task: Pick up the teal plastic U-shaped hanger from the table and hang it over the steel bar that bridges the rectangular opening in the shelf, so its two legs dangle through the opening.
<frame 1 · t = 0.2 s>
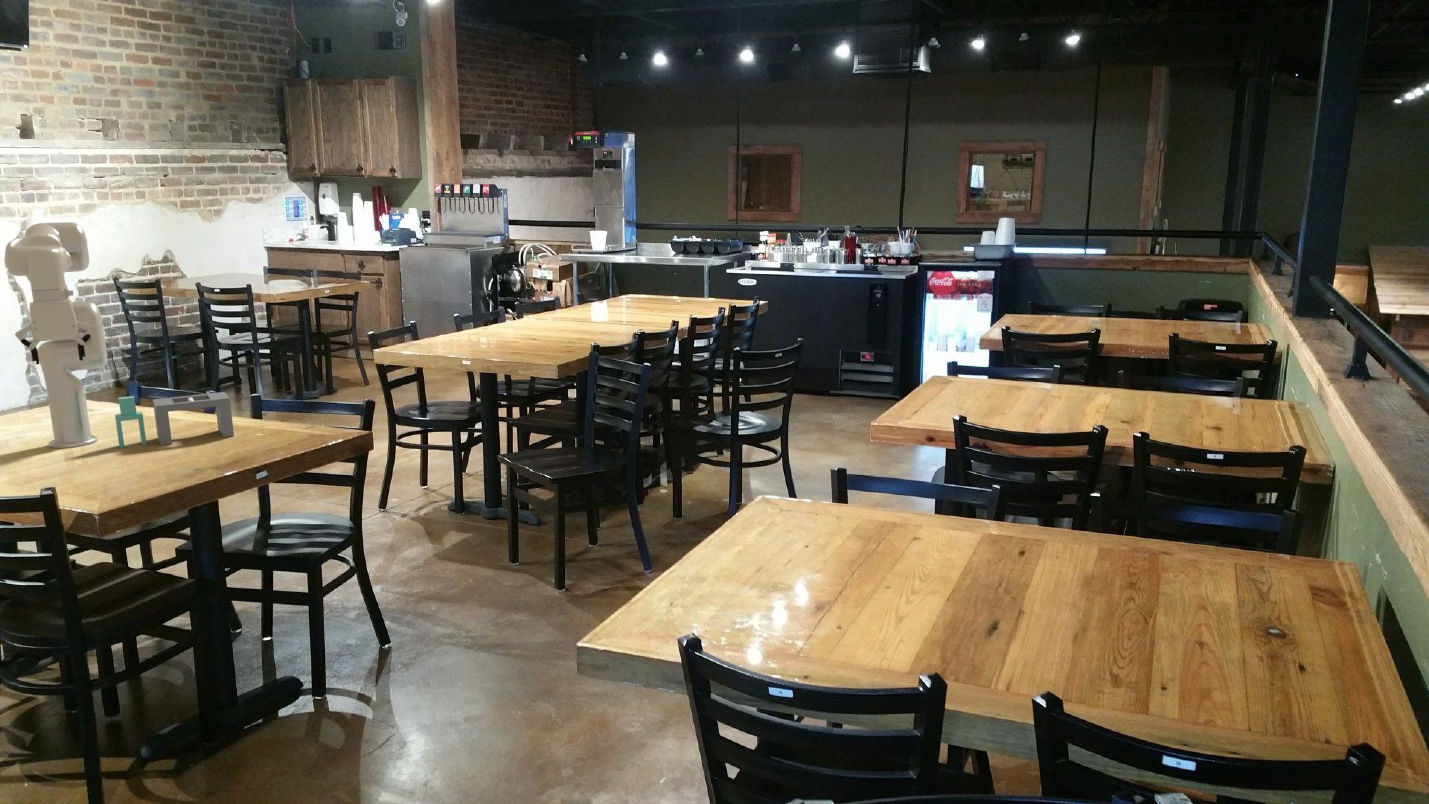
hand: (59, 361, 267), 31 cm above the table, tool pointing down, fingers open, 9 cm apart
shelf: (195, 437, 315), on the table
hanger: (132, 445, 306), on the table
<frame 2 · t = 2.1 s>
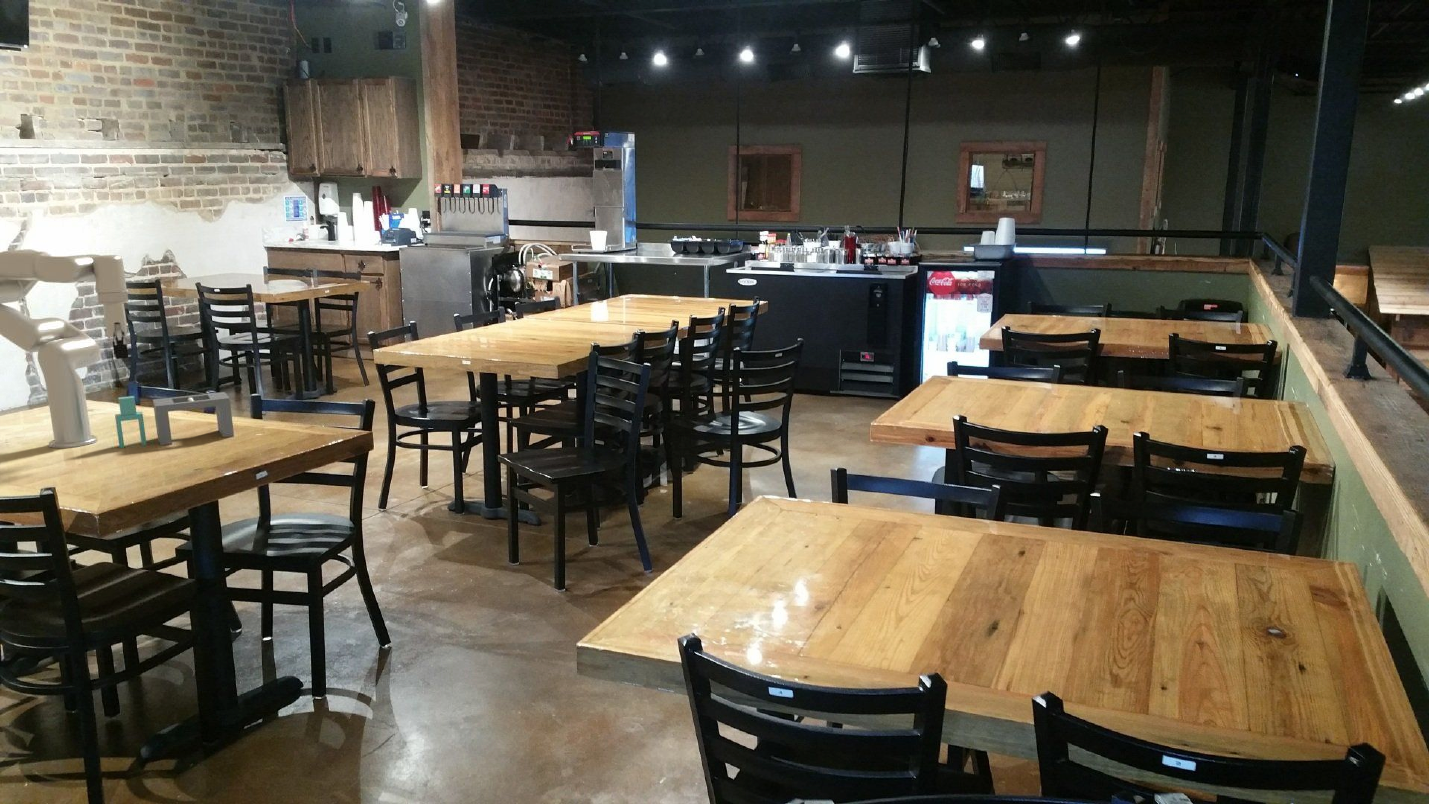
hand: (121, 356, 301), 27 cm above the table, tool pointing down, fingers open, 9 cm apart
nothing on the table moved.
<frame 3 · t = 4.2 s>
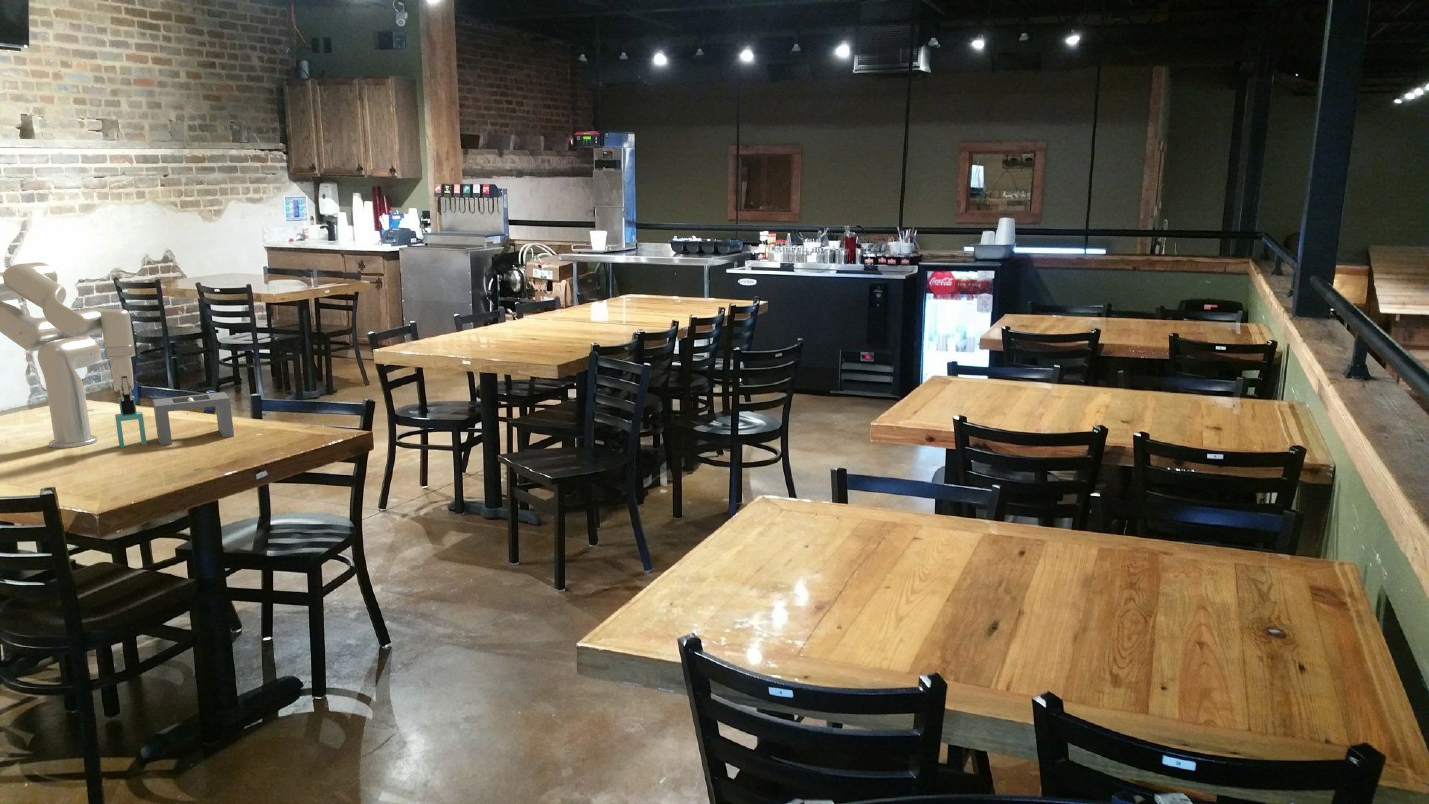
hand: (128, 412, 304), 10 cm above the table, tool pointing down, fingers closed on hanger, 3 cm apart
hanger: (133, 445, 306), on the table, touching gripper
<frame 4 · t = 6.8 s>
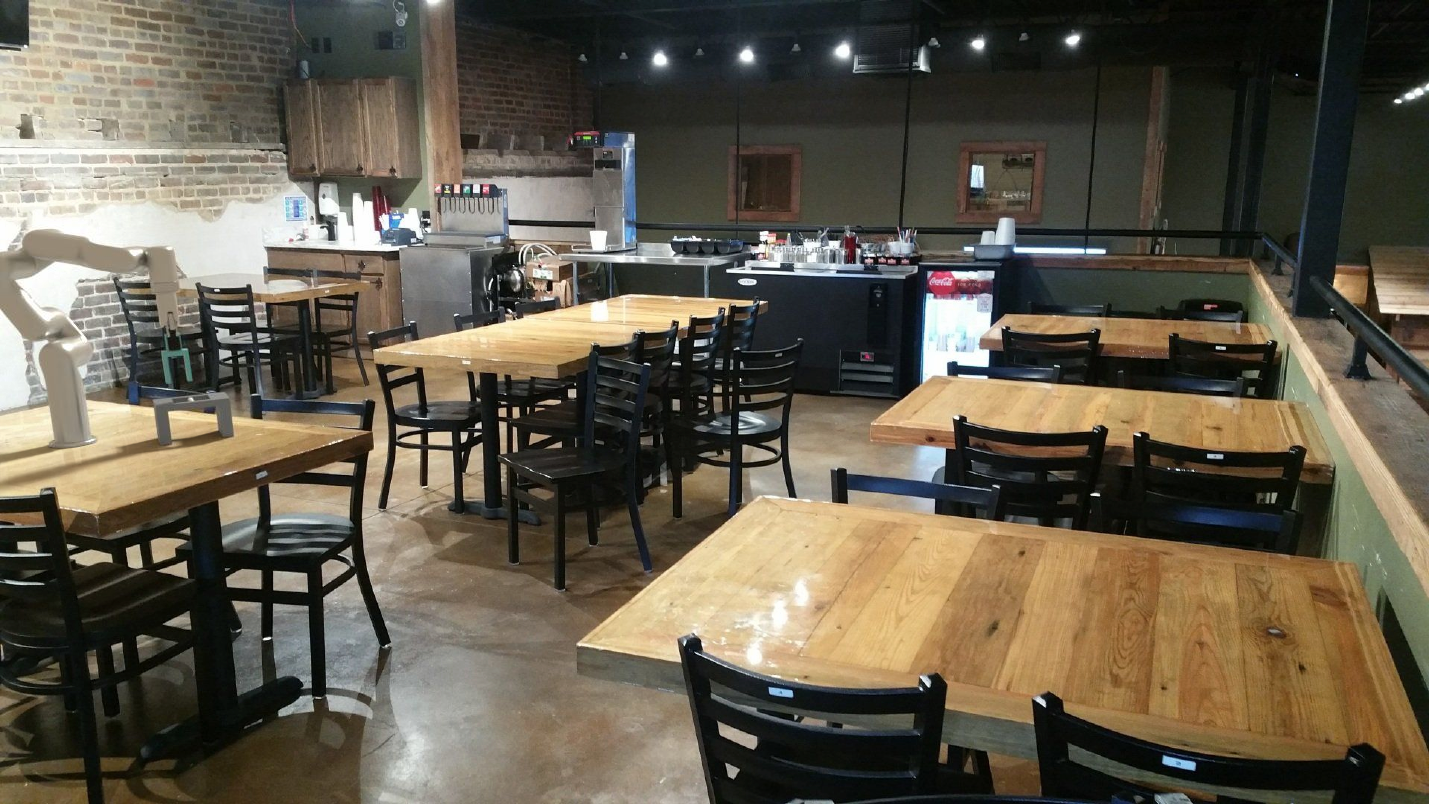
hand: (174, 348, 308), 28 cm above the table, tool pointing down, fingers closed on hanger, 3 cm apart
hanger: (179, 381, 310), point 18 cm above the table, touching gripper
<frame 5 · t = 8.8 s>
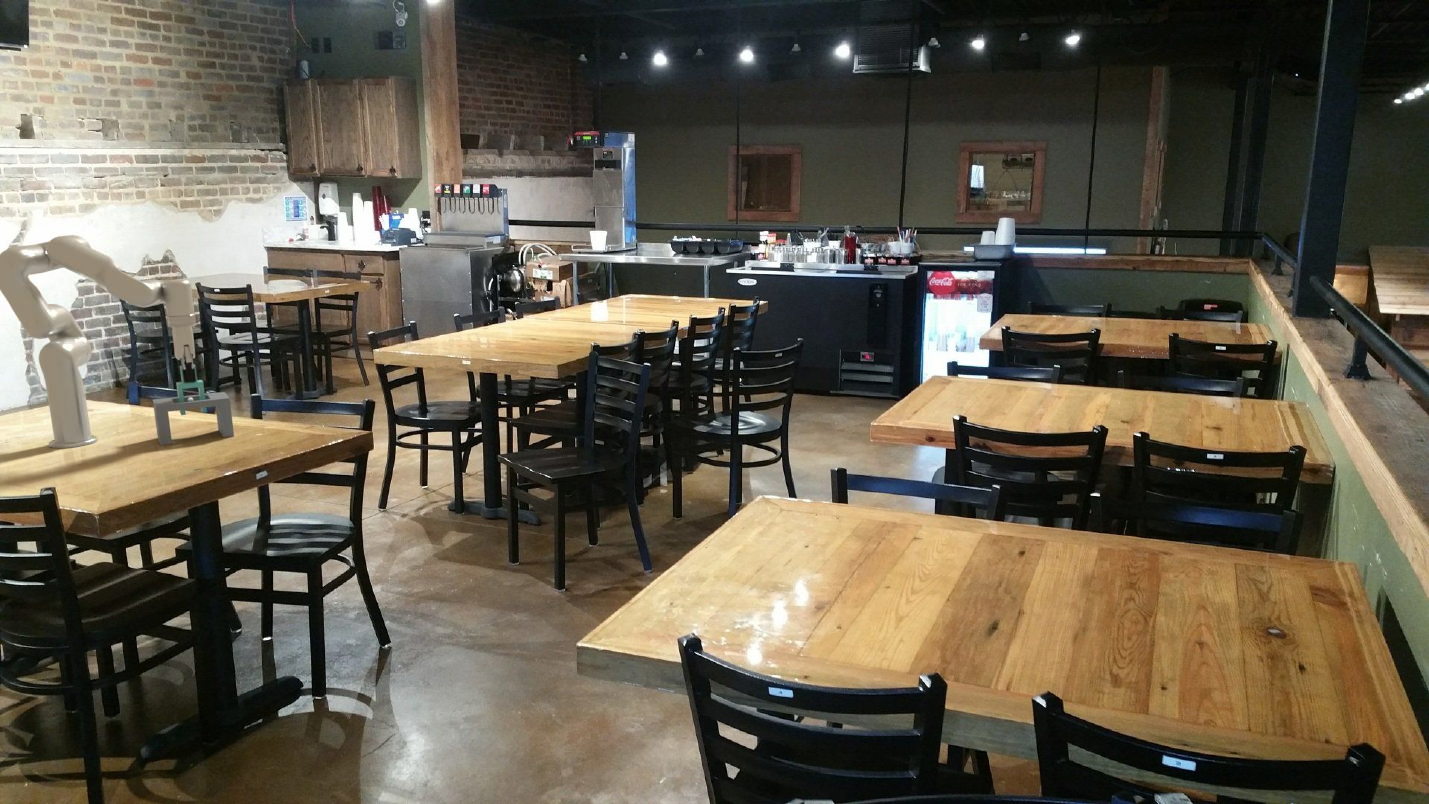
hand: (189, 380, 312), 18 cm above the table, tool pointing down, fingers closed on hanger, 3 cm apart
hanger: (193, 412, 314), point 8 cm above the table, touching gripper
when the fingers open (15 cm above the table, at t = 9.6 s): hanger drops 2 cm, resting on shelf.
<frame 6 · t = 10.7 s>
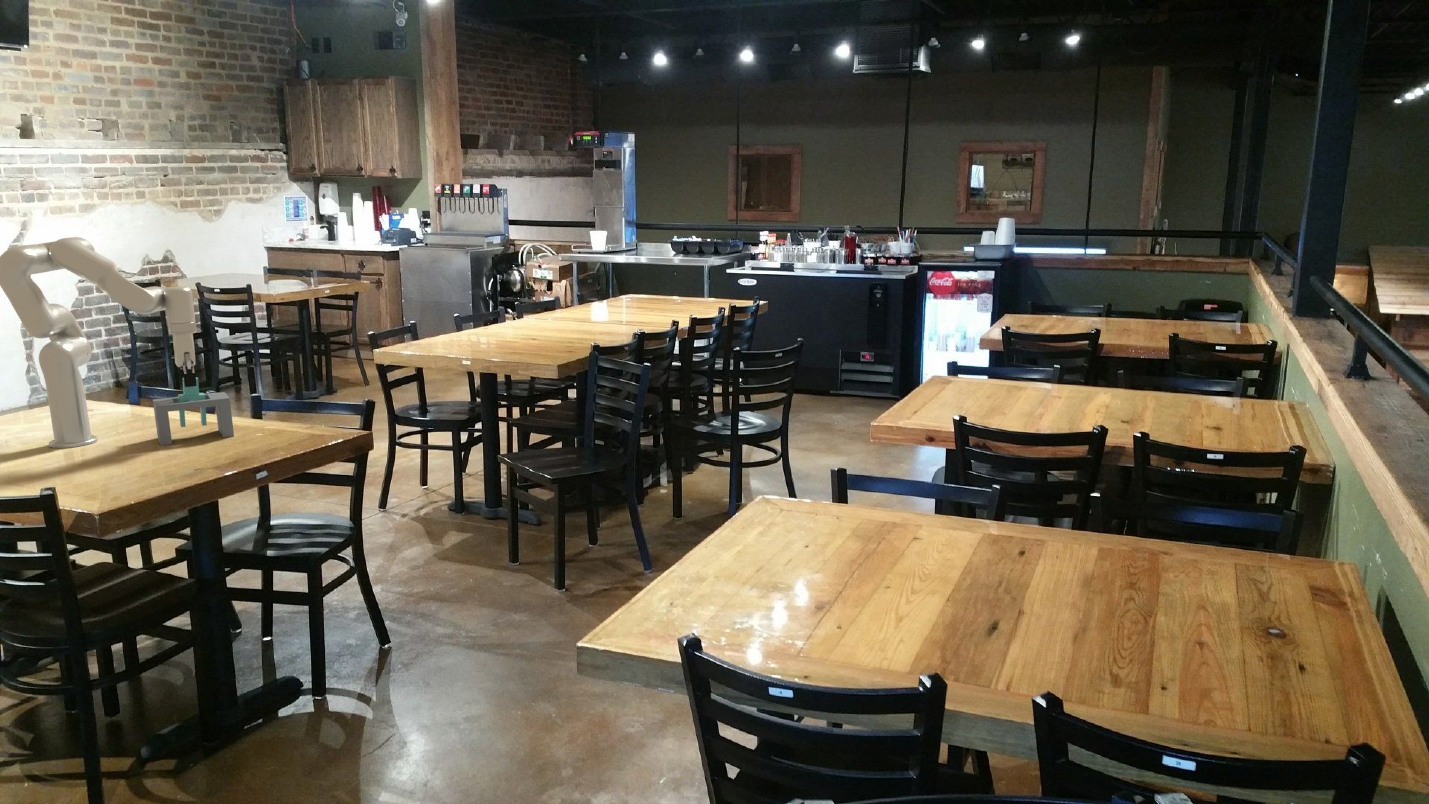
hand: (189, 384, 312), 17 cm above the table, tool pointing down, fingers open, 9 cm apart
hanger: (193, 425, 314), point 4 cm above the table, touching shelf
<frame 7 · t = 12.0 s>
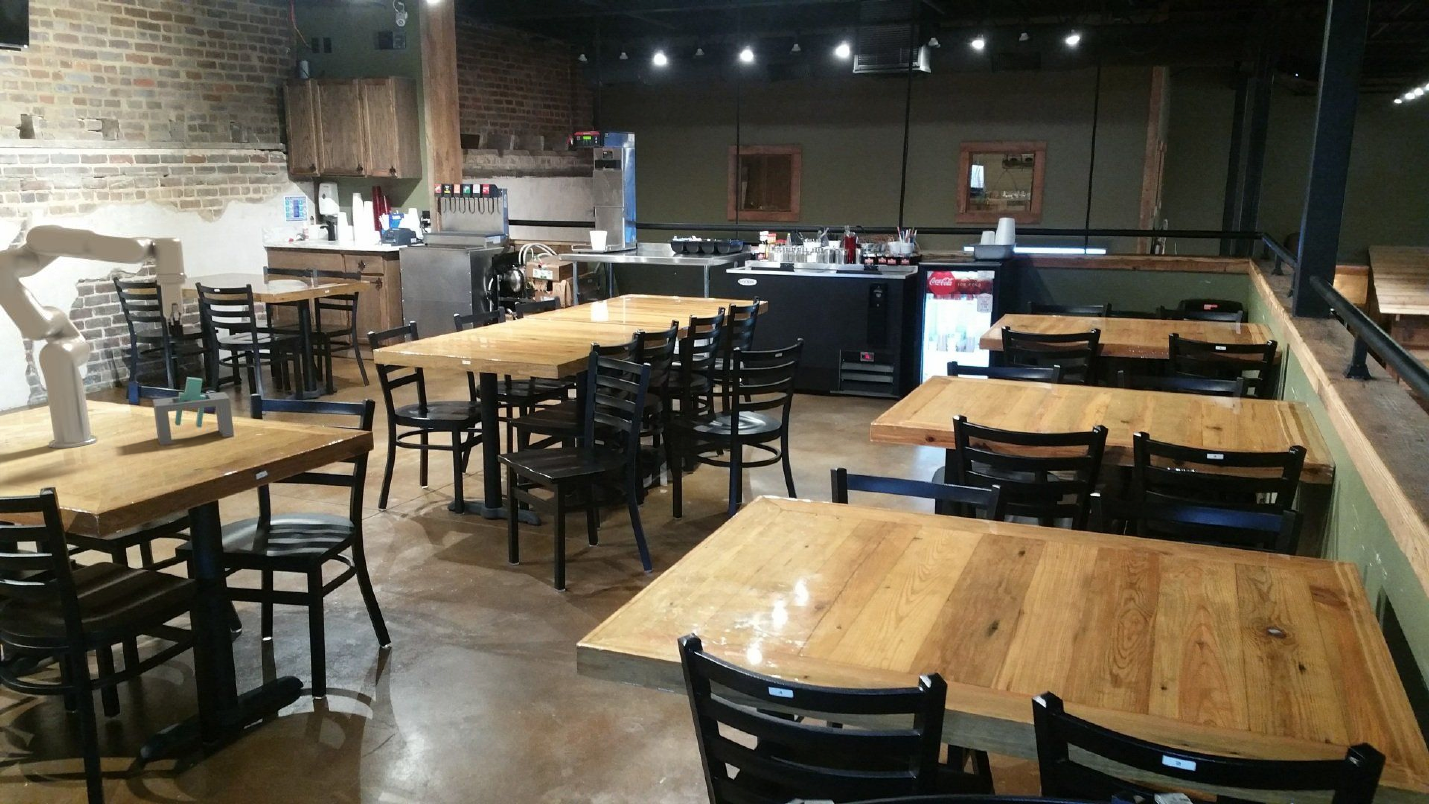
hand: (176, 336, 309), 31 cm above the table, tool pointing down, fingers open, 9 cm apart
hanger: (188, 425, 314), point 4 cm above the table, tilted 13°, touching shelf
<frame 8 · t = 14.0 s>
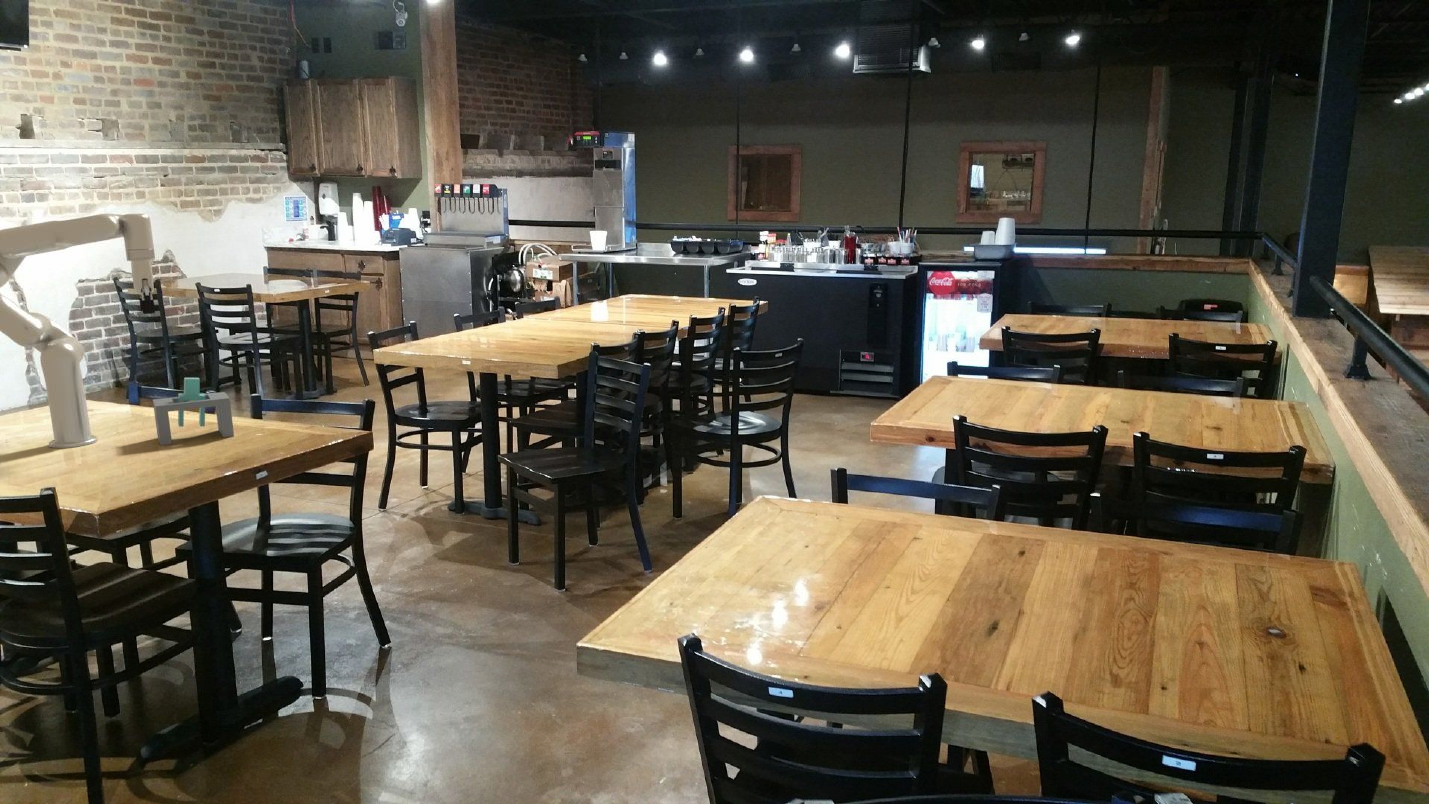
hand: (148, 312, 312), 38 cm above the table, tool pointing down, fingers open, 9 cm apart
hanger: (191, 425, 314), point 4 cm above the table, tilted 7°, touching shelf
at the end: hanger 0.8 cm off-centre on the shelf, point 3.8 cm above the shelf's base; hanger tilted 7°; the gripper is holding nothing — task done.
